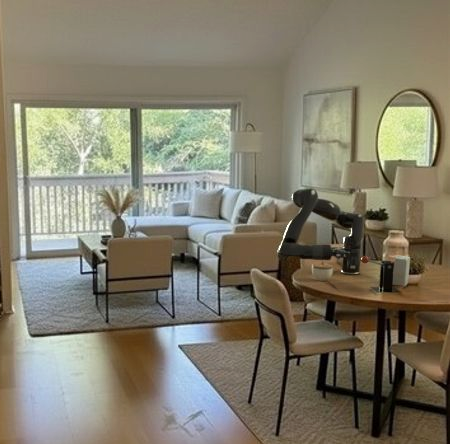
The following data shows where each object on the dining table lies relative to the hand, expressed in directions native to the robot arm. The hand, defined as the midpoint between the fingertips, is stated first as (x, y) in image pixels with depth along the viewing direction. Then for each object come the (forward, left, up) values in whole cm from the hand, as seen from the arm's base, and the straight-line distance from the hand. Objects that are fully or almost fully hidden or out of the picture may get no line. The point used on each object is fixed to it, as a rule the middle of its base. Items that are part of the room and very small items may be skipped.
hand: (354, 252), depth 270 cm
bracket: (-8, +14, -19) cm, 25 cm away
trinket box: (-16, -19, -19) cm, 32 cm away
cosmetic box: (-24, +18, -19) cm, 36 cm away
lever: (-5, +8, -6) cm, 12 cm away
